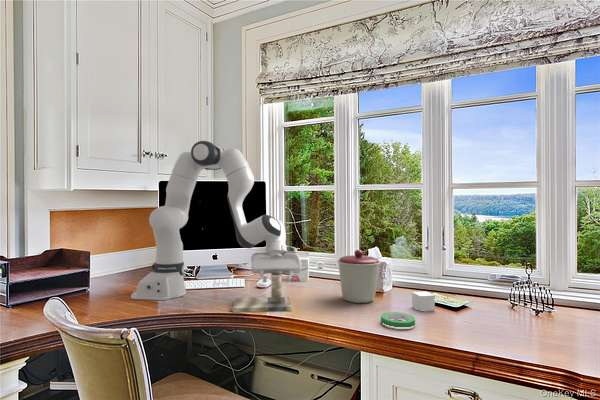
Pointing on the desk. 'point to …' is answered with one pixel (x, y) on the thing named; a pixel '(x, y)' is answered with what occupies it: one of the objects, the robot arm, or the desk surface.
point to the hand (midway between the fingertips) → (276, 281)
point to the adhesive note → (423, 301)
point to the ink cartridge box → (302, 268)
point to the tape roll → (396, 315)
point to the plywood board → (261, 305)
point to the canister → (358, 277)
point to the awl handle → (276, 286)
